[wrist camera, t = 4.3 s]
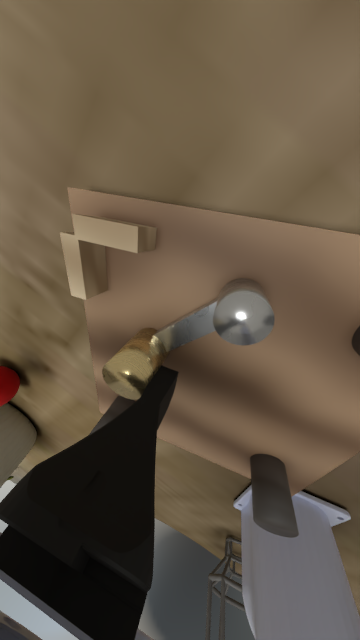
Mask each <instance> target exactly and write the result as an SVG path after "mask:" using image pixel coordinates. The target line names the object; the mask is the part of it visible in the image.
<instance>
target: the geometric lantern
mask: <svg viewBox="0 0 360 640" xmlns="http://www.w3.org/2000/svg"><path fill="white" fill-rule="evenodd" d="M229 541H230V550H229ZM232 542H235V543H238V544H240V545H242V541H239V540H237V539H234V538H232V537H229V538H226V545H225V557H224V558H223V559H222V561H221V562H220V563H219V564H218V566H217V567H216V568H215V569H214V570H213V571H212V573H210V574H209V576H208V577H209V578H208V599H207V620H206V638H205V640H210V624H211V599H212V591H213V592H214V593H215V594H216V595H217V596H218V597H219V598H220V599H221V607H220V624H219V640H225V601H226V602H228V603H229V604H231V605H233V606H235V607H237V608H239V609H241V610H243V611H244V612H246V610H245V606H244V605H243V604H241V603H239V602H237V601H235V600H233V599H231V598H229V597H228V596H226V593H227V591H228V588H229V585H230V586H232V587H234V588H235V589H237V590H239V591H241V592H242V585H241V584H239V583H237V582H235V581H234V580H232V577H233V576H236V577H238V578H240V579H242V575H239V574H237V573H235V562H237V563H239V564H241V565H242V558H240V557H238V556H235V555H234V554H232ZM227 552H228V555H227ZM231 560H233V571H232V570H231V569H230V561H231ZM225 561H226V565H225V568H224V571H223V573H222V574H216V572H217V571H218V570H219V569H220V568H221V566H222V565H223V564H224V563H225ZM228 571H230V572H231V574H230V577H229V578H228V577H226V576H225V575H226V573H227V572H228ZM212 581H214V582H213V583H212ZM219 581H221V593H220V592H219V591H218V590H217V589H216V588H215V587H214V586H215V585H216V584H217V582H219ZM225 583H226V584H227V585H226V588H225ZM242 593H243V592H242Z"/></svg>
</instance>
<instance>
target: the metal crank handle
mask: <svg viewBox="0 0 360 640" xmlns="http://www.w3.org/2000/svg"><path fill="white" fill-rule="evenodd" d="M274 321H275V317H274V312H273V310H272V308H271V306H270V303H269V301H268V299H267V297H266V295H265V292H264V290H263V288H262V287H261V286H260V284H258V283H257V282H256V281H254V280H251V279H247V278H239V279H235V280H232V281H230V282H229V283H227V284H226V285H225V286H224V287H223V288H222V290H221V292H220V294H219V297H218V298H216V299H214V300H212V301H210V302H209V303H207V304H205V305H203V306H201V307H199V308H198V309H196V310H194V311H192V312H190V313H188V314H187V315H185V316H183V317H181V318H179V319H178V320H176V321H174V322H172V323H170V324H168V325H167V326H165V327H163V328H161V329H159V330H155V329H151V328H144V329H141V330H140V331H139V332H137V333H136V334H135V335H134V336H133V337H132V338H131V339H130V340H129V341H128V342H127V343H126V344H125V345H124V346H123V347H122V348H121V349H120V350H119V351H118V352H117V353H116V354H115V355H114V356H113V357H112V358H111V359H110V360H109V361H108V362H107V363H106V364H105V365H104V367H103V369H102V375H103V378H104V380H105V382H106V384H107V385H108V386H109V387H110V388H111V389H112V390H113V391H114V392H115V393H117V394H119V395H120V396H122V397H125V398H128V399H133V400H136V399H139V398H140V397H141V395H142V394H143V392H144V390H145V388H146V386H147V385H148V383H149V382H150V381H151V379H152V378H153V376H154V375H155V374H156V372H157V371H158V370H159V368H160V367H161V365H162V364H163V362H164V361H165V359H166V357H167V356H168V354H169V351H171V350H173V349H175V348H177V347H180V346H182V345H184V344H187V343H189V342H191V341H193V340H196V339H198V338H200V337H202V336H205V335H207V334H209V333H211V332H214V331H216V332H217V333H218V335H219V336H220V337H221V338H222V339H224V340H225V341H227V342H229V343H232V344H235V345H243V346H245V345H252V344H255V343H258V342H260V341H262V340H263V339H265V338H266V337H267V336H268V335H269V334H270V332H271V331H272V329H273V326H274Z"/></svg>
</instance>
